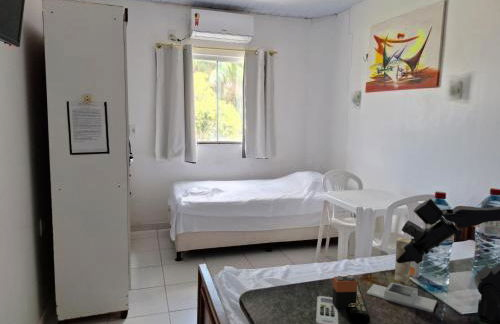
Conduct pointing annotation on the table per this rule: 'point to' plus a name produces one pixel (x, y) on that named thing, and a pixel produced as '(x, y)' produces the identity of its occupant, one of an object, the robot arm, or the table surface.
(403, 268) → the ash hinge pin
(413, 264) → the skincare box
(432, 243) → the robot arm
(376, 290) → the grey base plate
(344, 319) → the table surface
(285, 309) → the table surface
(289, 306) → the table surface
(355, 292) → the battery
